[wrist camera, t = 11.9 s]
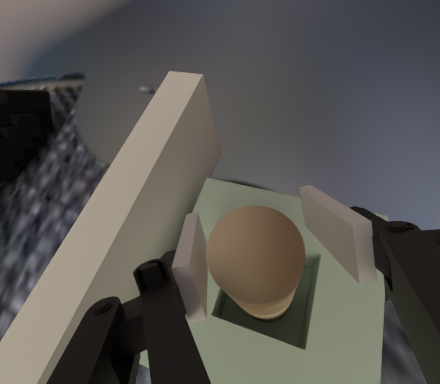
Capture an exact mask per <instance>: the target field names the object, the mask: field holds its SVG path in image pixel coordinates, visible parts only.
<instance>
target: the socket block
mask: <svg viewBox="0 0 440 384" xmlns="http://www.w3.org/2000/svg"><path fill="white" fill-rule="evenodd" d="M246 206H265V207H269V208H272V209H275V210H277V211H279V212H281V213H283V214H284V215H285V216H287V217H288V218H289V219H290V220H291V221H292V222H293V223H294V224H295V225H296V227H297V228H298V230H299V232H300V234H301V236H302V238H303V241H304V246H305V264H304V268H303V271H302V274H301V277H300V279H299V282H298V285H297V288H296V291H295V293H294V296H293V299H292V302H291V304H290V307H289V309H288V311H287V313H286V314H285V315H284V316H283V317H282V318H280V319H278V320H276V321H273V322H262V321H258V320H256V319H254V318H253V317H251V316H250V315H249V314H248V313H247V312H246V311H245V310H244V309H243V308H241V307H240V306H239V305H238V304H237V303H236V302H235V301H234V300H233V299H232V298H231V297H230V296H228V295H227V294H226V293H225V292H224V291H223V290H222V289H221V288H220V287H219V286H218V285H217V284H216V282H215V281H214V279H213V278H212V276H211V274H210V271H209V269H208V282H207V319H206V320H204V321H200V322H195V323H191V324H189V322H188V318H187V315H186V319H187V322H188V325H189V327H190V330H191V332H192V335H193V338H194V340H195V343H196V345H197V348H198V351H199V353H200V356H201V358H202V361H203V364H204V366H205V369H206V371H207V374H208V377H209V379H210V382H211V384H380V381H381V361H382V340H383V320H384V299H385V287H384V276H383V274H382V273H381V272H380V271H379V270H378V269H377V268H376V271H377V281H375V282H371V283H366V284H362V285H359V284H358V283H357V282H356V281H355V280H354V278H353V277H352V276H351V275H350V274H349V273H348V272H347V271H346V270H345V269H344V268H343V267H342V265H341V264H340V263H339V262H338V261H337V260H336V259H335V258H334V257H333V256H332V255H331V254H330V252H329V251H328V250H327V249H326V248H325V247H324V246H323V245H322V244H321V243H320V242H319V241H318V239H317V238H316V237H315V236H314V235H313V234H312V233H311V232H310V231H309V230H308V229H307V228H306V227H305V221H304V216H303V210H302V204H301V198H300V197H296V196H291V195H287V194H282V193H277V192H273V191H268V190H263V189H258V188H254V187H249V186H244V185H240V184H235V183H230V182H226V181H221V180H216V179H212V178H206V180H205V183H204V185H203V188H202V190H201V193H200V195H199V197H198V200H197V202H196V205H195V207H194V209H193V212H192V213H194V212H198V214H199V217H200V221H201V225H202V228H203V232H204V235H205V239H206V243H207V242H208V239H209V236H210V234H211V232H212V230H213V228H214V227H215V225H216V224H217V223H218V222H219V221H220V220H221V219H222V218H223V217H224V216H225V215H227V214H228V213H230V212H231V211H234V210H236V209H238V208H241V207H246ZM373 214H375V215H376V216H379V217H381V218H383V219H384V220H386V221H388V218H389V217H388V216H384V215H380V214H376V213H373ZM140 355H141V356H140V361H139V364H141V365H143V366H145V367H147V368H149V361H148V354H147V350H145V351H143V352H141V353H140Z"/></svg>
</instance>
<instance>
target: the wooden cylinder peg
mask: <svg viewBox="0 0 440 384" xmlns="http://www.w3.org/2000/svg"><path fill="white" fill-rule="evenodd" d="M206 260H207V265H208V269H209V271H210V274H211V276H212V278H213V279H214V281H215V282H216V284H217V285H218V286H219V287H220V288H221V289H222V290H223V291H224V292H225V293H226V294H227V295H228V296H230V297H231V298H232V299H233V300H234V301H235V302H236V303H237V304H238V305H239V306H240V307H241V308H243V309H244V310H245V311H246V312H247V313H248V314H249V315H250V316H251V317H253V318H254V319H256V320H258V321H262V322H273V321H276V320H278V319H280V318H282V317H283V316H284V315H285V314H286V313H287V311H288V309H289V307H290V304H291V302H292V299H293V296H294V293H295V291H296V288H297V285H298V282H299V279H300V277H301V274H302V271H303V268H304V264H305V246H304V241H303V238H302V236H301V234H300V232H299V230H298V228H297V227H296V225H295V224H294V223H293V222H292V221H291V220H290V219H289V218H288V217H287V216H285V215H284V214H283V213H281V212H279V211H277V210H275V209H272V208H269V207H265V206H246V207H241V208H238V209H236V210H234V211H231V212H230V213H228V214H227V215H225V216H224V217H223V218H222V219H221V220H220V221H219V222H218V223H217V224H216V225H215V227H214V228H213V230H212V232H211V234H210V236H209V239H208V242H207V247H206Z"/></svg>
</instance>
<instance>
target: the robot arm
mask: <svg viewBox="0 0 440 384" xmlns="http://www.w3.org/2000/svg"><path fill="white" fill-rule="evenodd" d="M299 192H300V198H301V204H302V210H303V216H304V221H305V227H306V228H307V229H308V230H309V231H310V232H311V233H312V234H313V235H314V236H315V237H316V238H317V239H318V241H319V242H320V243H321V244H322V245H323V246H324V247H325V248H326V249H327V250H328V251H329V252H330V254H331V255H332V256H333V257H334V258H335V259H336V260H337V261H338V262H339V263H340V264H341V265H342V267H343V268H344V269H345V270H346V271H347V272H348V273H349V274H350V275H351V276H352V277H353V278H354V280H355V281H356V282H357V283H358V284H359V285H362V284H366V283H371V282H375V281H377V271H376V268H377V269H378V270H379V271H380V272H381V273H382V274H383V276H384V287H385V297H386V300H389V297H390V299H391V301H392V303H393V306H394V308H395V310H396V313H397V315H398V317H399V320H400V322H401V324H402V326H403V329H404V331H405V333H406V336H407V338H408V340H409V343H410V345H411V347H412V349H413V352H414V354H415V356H416V359H417V361H418V363H419V366H420V368H421V370H422V372H423V375H424V377H425V379H426V382H427V384H440V229H438V230H425V231H423V230H422V231H421V230H420V229H419V228H418V226H416V225H414V224H412V223H409V222H403V221H391V222H388V221H386V220H384V219H383V218H381V217H379V216H376V215H375V214H373V213H371V212H370V211H368V210H366V209H364V208H359V207H355V206H354V207H350V208H349V207H347V206H345V205H344V204H342V203H340V202H339V201H337V200H335V199H333V198H332V197H330V196H328V195H327V194H325V193H324V192H322V191H320V190H319V189H317V188H315V187H313V186H312V185H307V186H302V187H299ZM206 247H207V243H206V239H205V235H204V232H203V228H202V225H201V221H200V217H199V214H198V212H194V213H190V214H186V218H185V221H184V225H183V229H182V232H181V236H180V239H179V243H178V246H177V249H176V250H172V251H168V252H165V253H164V255H163V256H162V257H161V258H160V259H153V260H149V261H147V262H144V263H142V264H141V265H139V266H138V267H137V268H136V269H135V270H134V272H133V276H134V278H135V281H136V284H137V286H138V289H139V292H140V295H139V296H138V297H136V298H134V299H132V300H130V301H127V302H125V303H123V304H122V303H121V301H120V299H119V298H118V297H115V296H112V297H107V298H104V299H101V300H99V301H97V302H96V303H94V304H93V305H92V306H91V307H90V308H89V309H88V310H87V311H86V313H85V315H84V316H83V318H82V320H81V322H80V324H79V325H78V327H77V329H76V331H75V333H74V334H73V336H72V338H71V340H70V342H69V343H68V345H67V347H66V349H65V351H64V352H63V354H62V356H61V358H60V360H59V361H58V363H57V365H56V367H55V369H54V370H53V372H52V374H51V376H50V378H49V379H48V381H47V383H46V384H135V381H136V376H137V371H138V366H139V361H140V356H141V355H140V353H141V352H143V351H145V350H147V354H148V361H149V369H150V377H151V384H211V382H210V379H209V377H208V374H207V371H206V369H205V366H204V364H203V361H202V358H201V356H200V353H199V351H198V348H197V345H196V343H195V340H194V338H193V335H192V332H191V330H190V327H189V325H188V322H189V324H191V323H195V322H200V321H204V320H206V319H207V282H208V265H207V260H206ZM186 315H187V318H188V322H187V319H186Z"/></svg>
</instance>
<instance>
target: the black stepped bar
mask: <svg viewBox="0 0 440 384" xmlns="http://www.w3.org/2000/svg"><path fill="white" fill-rule="evenodd" d="M47 132H53V124H52V115H51V107H50V99H49V92H47V91H42V90H0V182H3V181H7V180H11V179H15V178H18V177H19V175H20V168H19V167H23V166H27V165H29V158H28V155H32V154H38V151H37V144H39V143H45V142H46V140H45V133H47ZM0 193H1V191H0Z"/></svg>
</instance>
